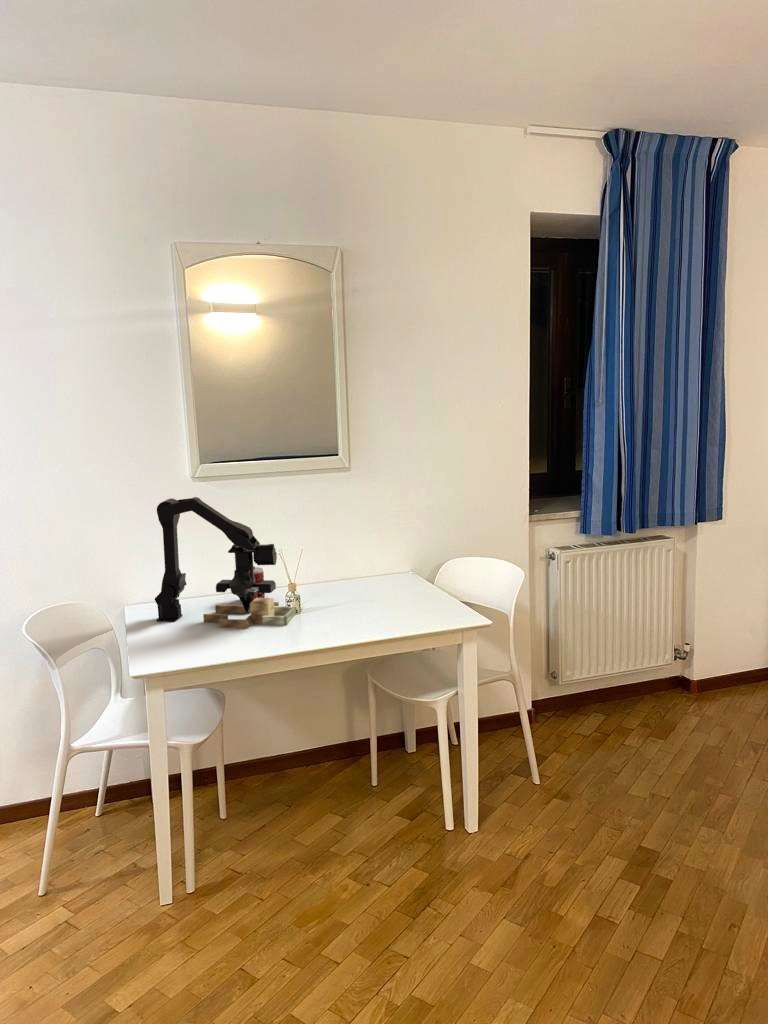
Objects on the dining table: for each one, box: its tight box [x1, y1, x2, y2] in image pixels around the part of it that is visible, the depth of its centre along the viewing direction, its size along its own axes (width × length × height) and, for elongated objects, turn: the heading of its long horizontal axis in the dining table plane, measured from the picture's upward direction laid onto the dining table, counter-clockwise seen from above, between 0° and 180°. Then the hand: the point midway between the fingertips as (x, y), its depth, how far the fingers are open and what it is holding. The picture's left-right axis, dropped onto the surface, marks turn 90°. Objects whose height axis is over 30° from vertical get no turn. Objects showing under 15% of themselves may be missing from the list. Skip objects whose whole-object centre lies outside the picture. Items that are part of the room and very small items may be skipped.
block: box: [250, 597, 276, 616], centre depth 248 cm, size 6×6×6 cm
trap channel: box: [203, 601, 298, 629], centre depth 249 cm, size 28×20×2 cm
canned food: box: [247, 566, 266, 601], centre depth 268 cm, size 8×8×11 cm
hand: (247, 611), depth 249 cm, fingers closed
